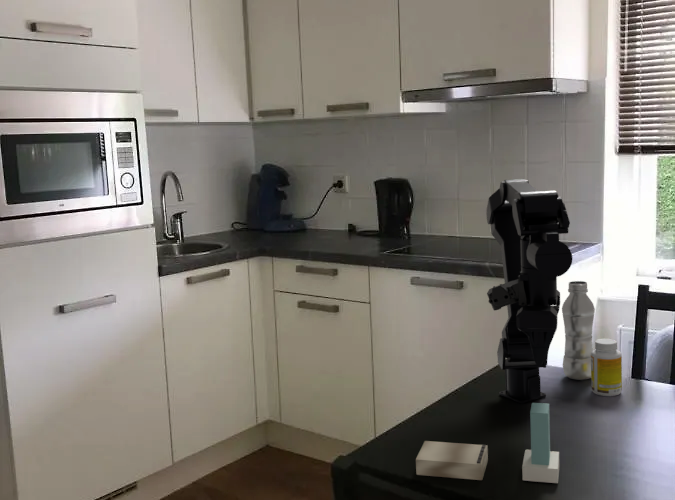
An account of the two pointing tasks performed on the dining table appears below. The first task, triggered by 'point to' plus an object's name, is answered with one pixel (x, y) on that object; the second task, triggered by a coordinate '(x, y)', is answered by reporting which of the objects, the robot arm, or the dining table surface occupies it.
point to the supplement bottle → (606, 368)
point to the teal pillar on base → (540, 448)
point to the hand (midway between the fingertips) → (540, 356)
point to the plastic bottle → (578, 331)
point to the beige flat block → (452, 460)
